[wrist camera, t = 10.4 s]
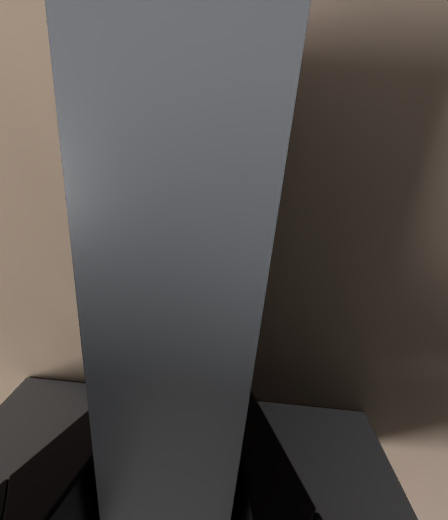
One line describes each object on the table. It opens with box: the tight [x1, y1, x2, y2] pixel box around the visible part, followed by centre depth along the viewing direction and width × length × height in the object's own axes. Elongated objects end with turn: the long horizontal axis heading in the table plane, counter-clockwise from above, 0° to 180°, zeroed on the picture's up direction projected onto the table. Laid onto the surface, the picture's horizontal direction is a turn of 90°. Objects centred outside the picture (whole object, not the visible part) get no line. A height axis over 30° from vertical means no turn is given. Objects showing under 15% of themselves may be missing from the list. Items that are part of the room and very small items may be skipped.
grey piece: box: [0, 0, 418, 520], centre depth 6 cm, size 12×12×4 cm
